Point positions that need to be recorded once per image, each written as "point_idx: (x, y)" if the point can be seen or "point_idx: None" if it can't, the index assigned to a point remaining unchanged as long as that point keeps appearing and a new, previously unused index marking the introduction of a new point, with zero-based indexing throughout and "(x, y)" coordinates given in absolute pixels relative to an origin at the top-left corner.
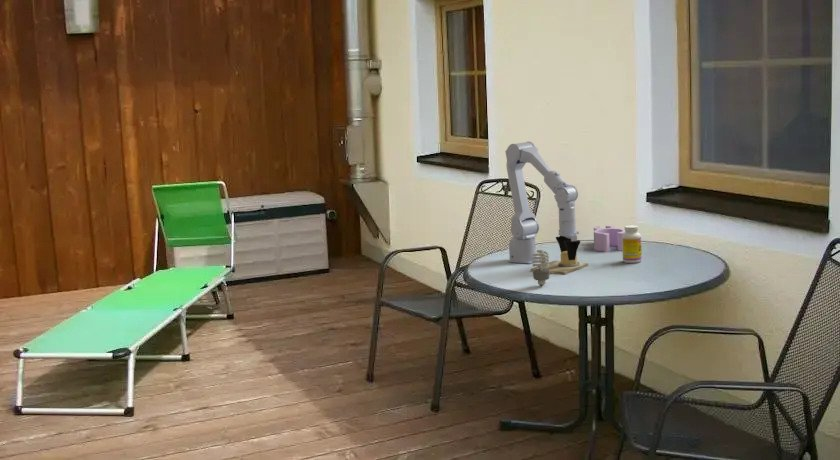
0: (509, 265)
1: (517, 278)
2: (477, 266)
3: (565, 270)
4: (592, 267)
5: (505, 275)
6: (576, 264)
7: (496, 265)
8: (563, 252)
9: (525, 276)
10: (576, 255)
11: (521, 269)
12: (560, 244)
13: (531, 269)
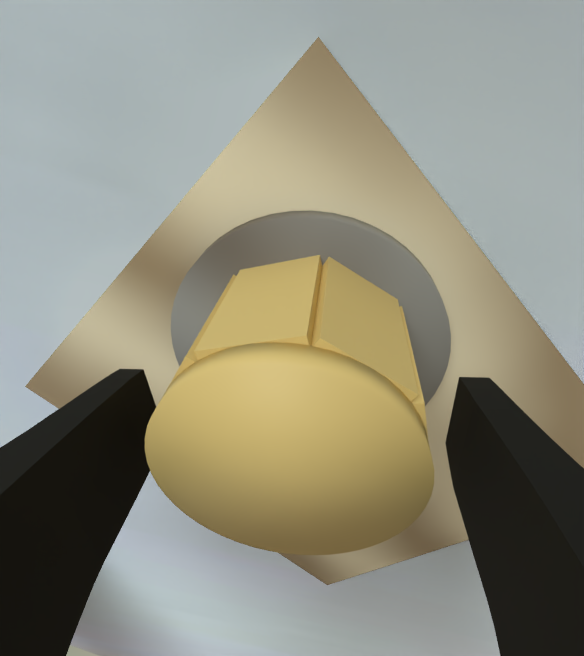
0: (109, 581)
1: (493, 649)
2: (110, 647)
3: (575, 451)
4: (503, 7)
5: (374, 652)
6: (433, 299)
7: (99, 609)
8: (267, 528)
9: (469, 619)
10: (350, 336)
11: (246, 578)
12: (61, 642)
13: (333, 580)
